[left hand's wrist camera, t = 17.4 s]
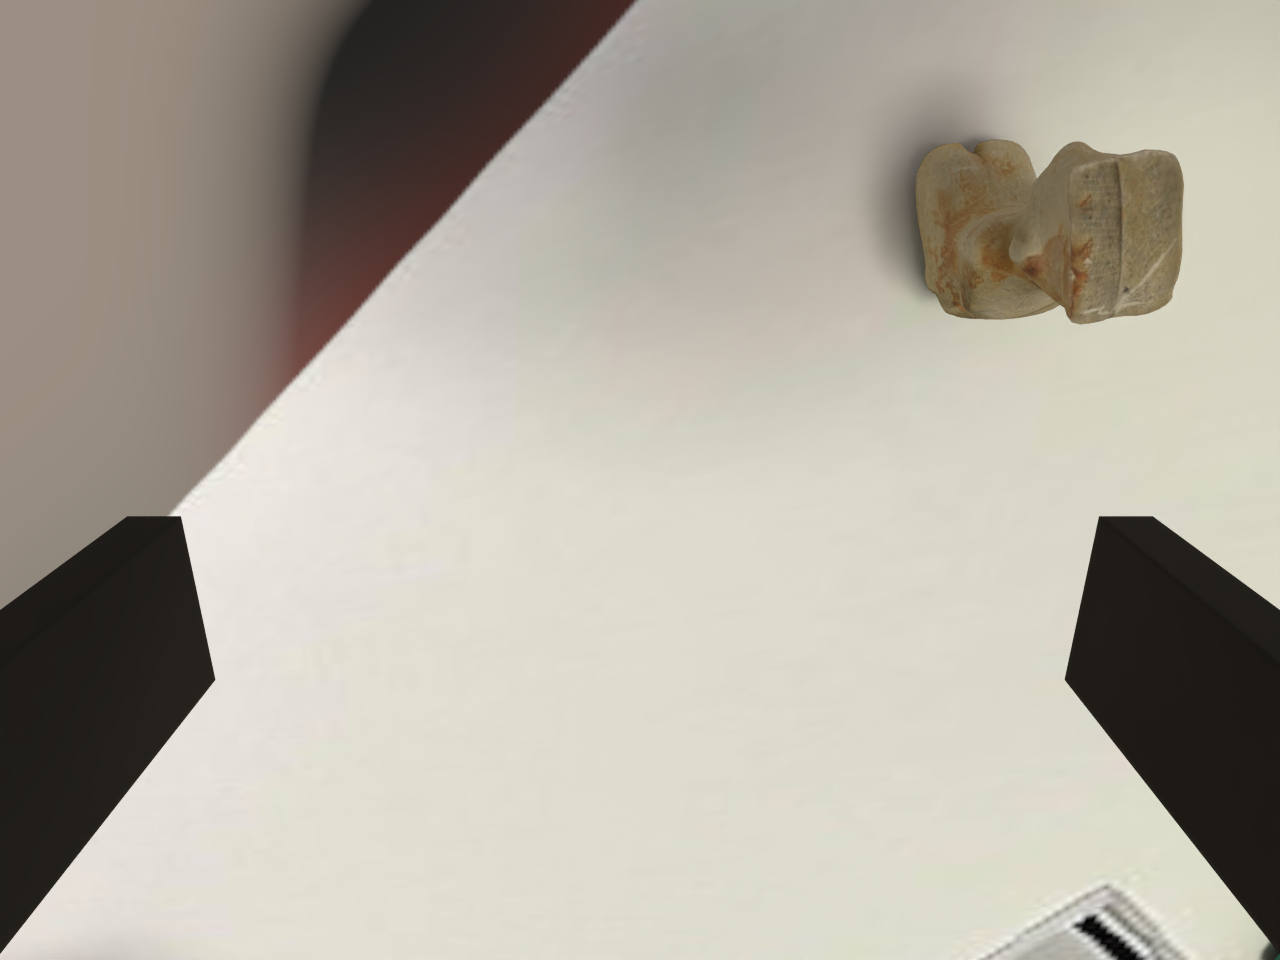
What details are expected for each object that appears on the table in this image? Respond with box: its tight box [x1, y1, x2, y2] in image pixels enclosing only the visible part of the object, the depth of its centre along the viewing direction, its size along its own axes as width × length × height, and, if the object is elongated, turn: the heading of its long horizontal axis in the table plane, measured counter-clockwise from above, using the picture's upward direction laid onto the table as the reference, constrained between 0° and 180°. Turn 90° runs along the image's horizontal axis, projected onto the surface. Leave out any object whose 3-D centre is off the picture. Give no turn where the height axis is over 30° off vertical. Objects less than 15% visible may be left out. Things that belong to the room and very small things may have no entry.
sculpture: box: [915, 140, 1184, 324], centre depth 33 cm, size 6×7×15 cm
